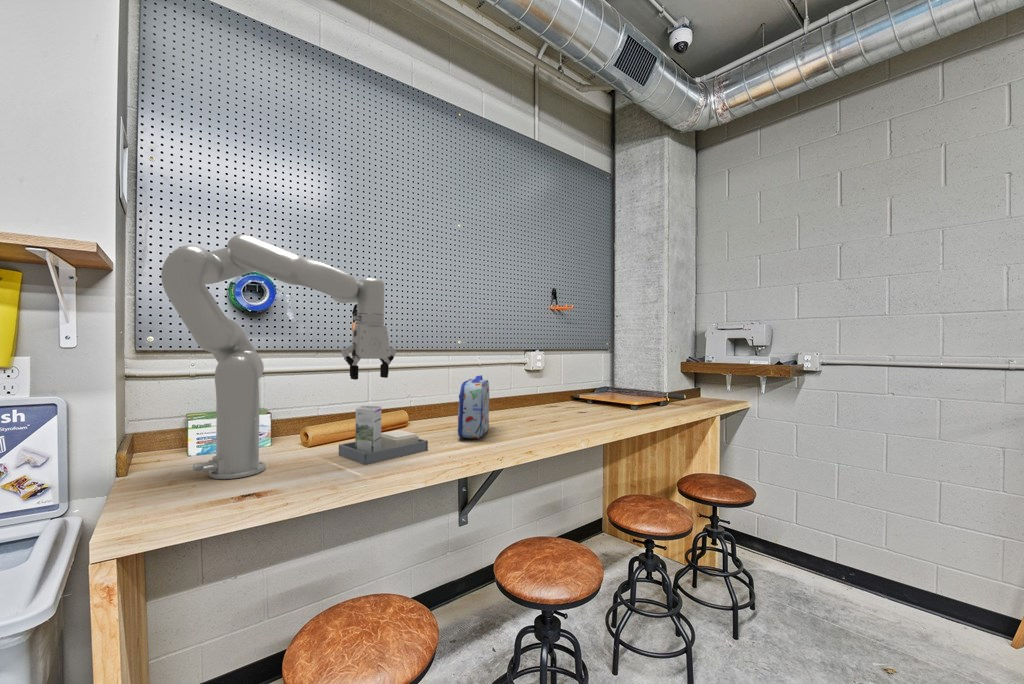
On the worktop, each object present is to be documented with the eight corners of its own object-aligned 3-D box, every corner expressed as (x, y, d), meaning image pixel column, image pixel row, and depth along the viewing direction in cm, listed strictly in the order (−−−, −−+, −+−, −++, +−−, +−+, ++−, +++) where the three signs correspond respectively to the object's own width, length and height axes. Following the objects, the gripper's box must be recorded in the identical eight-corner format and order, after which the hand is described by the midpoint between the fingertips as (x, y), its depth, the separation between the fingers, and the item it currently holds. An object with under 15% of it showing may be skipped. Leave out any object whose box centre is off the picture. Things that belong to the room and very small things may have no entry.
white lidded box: (396, 454, 126) (396, 438, 126) (378, 449, 133) (378, 433, 133) (418, 449, 132) (418, 433, 132) (399, 444, 139) (400, 429, 139)
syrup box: (381, 453, 128) (382, 405, 128) (373, 458, 122) (373, 408, 122) (363, 452, 128) (364, 405, 128) (354, 458, 122) (354, 408, 122)
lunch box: (465, 426, 174) (465, 373, 174) (490, 427, 174) (490, 373, 174) (454, 442, 147) (455, 379, 147) (484, 443, 147) (485, 379, 147)
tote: (365, 468, 116) (365, 453, 116) (338, 458, 126) (338, 444, 126) (427, 453, 132) (427, 440, 132) (399, 445, 142) (399, 433, 142)
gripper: (349, 318, 116) (348, 381, 116) (402, 321, 129) (401, 377, 129) (336, 319, 121) (335, 379, 121) (388, 322, 134) (388, 376, 134)
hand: (369, 378), depth 125 cm, fingers open, 9 cm apart
